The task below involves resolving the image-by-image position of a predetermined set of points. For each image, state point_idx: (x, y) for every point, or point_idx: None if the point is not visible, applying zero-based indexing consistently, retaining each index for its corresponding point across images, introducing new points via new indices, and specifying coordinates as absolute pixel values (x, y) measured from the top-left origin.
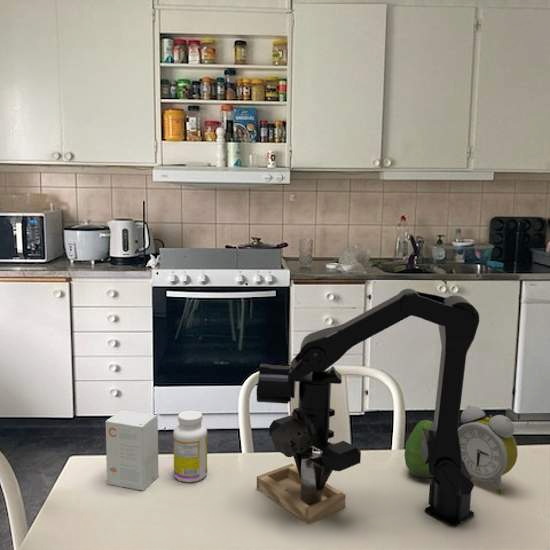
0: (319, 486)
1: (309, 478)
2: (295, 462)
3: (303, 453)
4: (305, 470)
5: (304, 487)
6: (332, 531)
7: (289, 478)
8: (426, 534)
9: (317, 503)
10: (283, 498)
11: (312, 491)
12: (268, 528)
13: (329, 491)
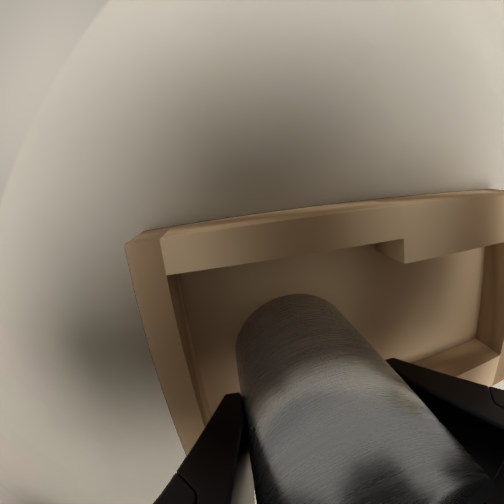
0: (213, 417)
1: (283, 404)
2: (494, 388)
3: (495, 487)
4: (347, 427)
5: (302, 335)
6: (57, 292)
7: (468, 338)
8: (11, 475)
9: (173, 333)
10: (359, 206)
11: (249, 362)
12: (213, 40)
13: None
